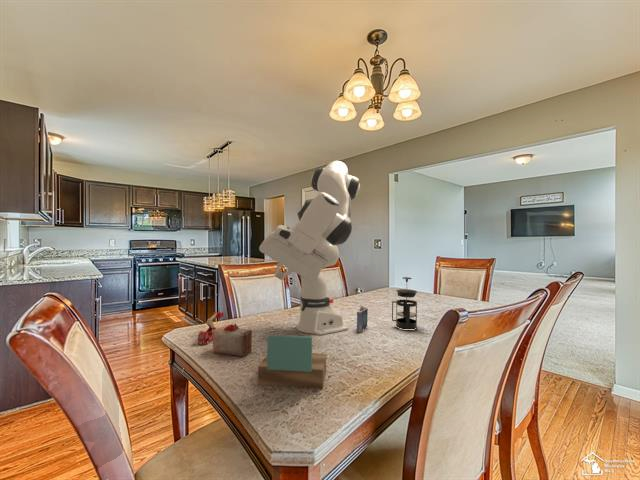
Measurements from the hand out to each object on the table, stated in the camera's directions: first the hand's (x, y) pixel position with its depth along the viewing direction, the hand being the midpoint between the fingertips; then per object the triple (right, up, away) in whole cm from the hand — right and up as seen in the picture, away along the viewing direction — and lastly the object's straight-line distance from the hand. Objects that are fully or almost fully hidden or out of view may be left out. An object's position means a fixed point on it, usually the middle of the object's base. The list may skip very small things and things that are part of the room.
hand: (278, 277), depth 92 cm
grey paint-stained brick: (-18, -28, +12) cm, 36 cm away
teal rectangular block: (+5, -23, -13) cm, 27 cm away
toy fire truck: (-30, -28, +25) cm, 48 cm away
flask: (+32, -28, +39) cm, 58 cm away
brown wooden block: (+5, -28, -6) cm, 29 cm away
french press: (+52, -28, +42) cm, 73 cm away
